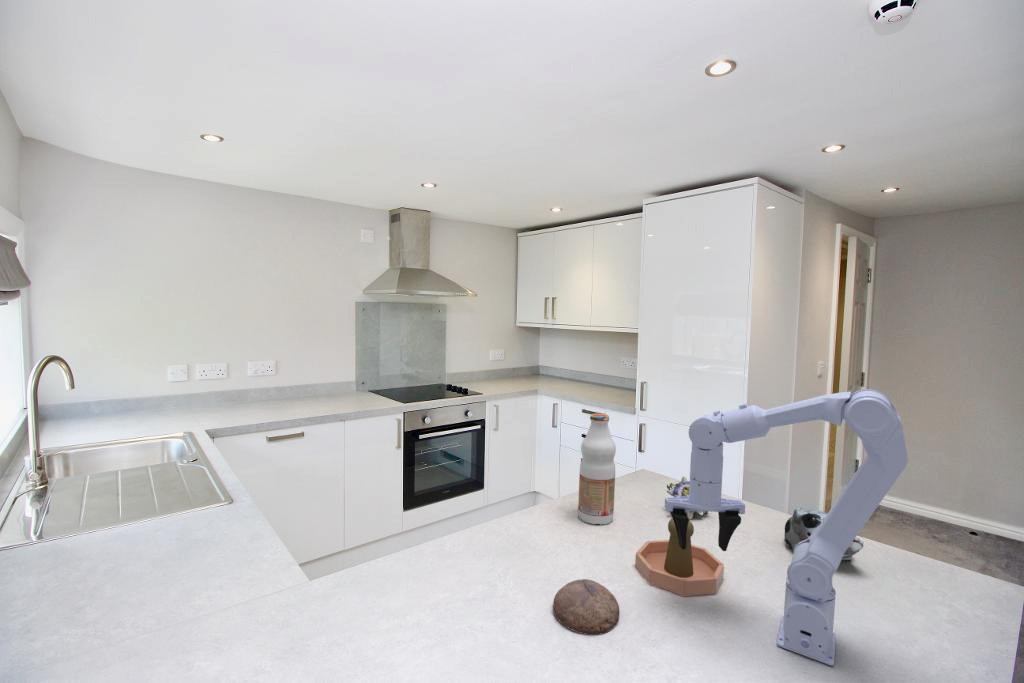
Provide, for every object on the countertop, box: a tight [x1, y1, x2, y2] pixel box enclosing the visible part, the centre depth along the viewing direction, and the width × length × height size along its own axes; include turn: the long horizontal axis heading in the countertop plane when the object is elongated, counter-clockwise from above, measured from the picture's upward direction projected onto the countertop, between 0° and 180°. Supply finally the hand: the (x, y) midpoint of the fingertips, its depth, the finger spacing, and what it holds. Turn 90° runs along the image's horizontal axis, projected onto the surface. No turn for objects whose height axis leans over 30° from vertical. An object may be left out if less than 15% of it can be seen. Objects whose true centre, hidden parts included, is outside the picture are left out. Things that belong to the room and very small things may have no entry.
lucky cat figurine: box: [783, 507, 865, 561], centre depth 111 cm, size 15×12×14 cm
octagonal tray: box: [634, 539, 725, 597], centre depth 103 cm, size 17×17×3 cm
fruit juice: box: [577, 413, 617, 525], centre depth 128 cm, size 9×9×28 cm
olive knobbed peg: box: [664, 517, 695, 578], centre depth 102 cm, size 6×6×11 cm
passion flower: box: [666, 476, 709, 521], centre depth 134 cm, size 11×11×12 cm
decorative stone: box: [553, 578, 620, 635], centre depth 87 cm, size 12×12×6 cm
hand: (702, 547), depth 92 cm, fingers open, 7 cm apart
